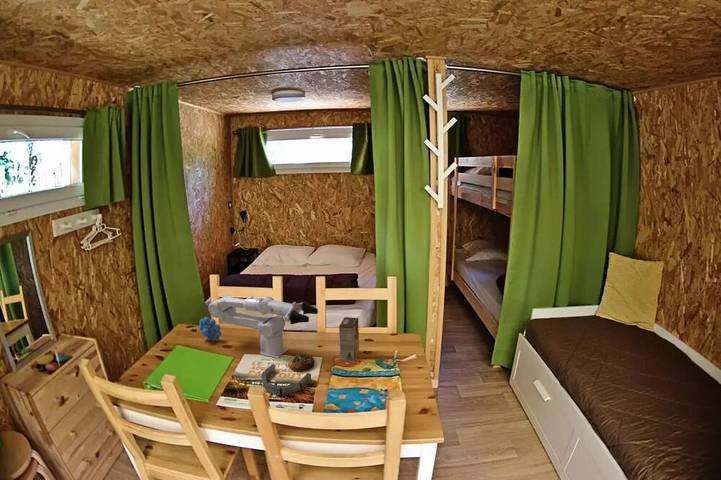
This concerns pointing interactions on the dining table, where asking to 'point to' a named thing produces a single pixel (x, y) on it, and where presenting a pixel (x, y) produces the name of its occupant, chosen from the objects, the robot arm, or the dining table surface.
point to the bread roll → (301, 362)
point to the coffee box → (349, 339)
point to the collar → (285, 389)
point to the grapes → (209, 328)
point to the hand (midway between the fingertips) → (313, 315)
